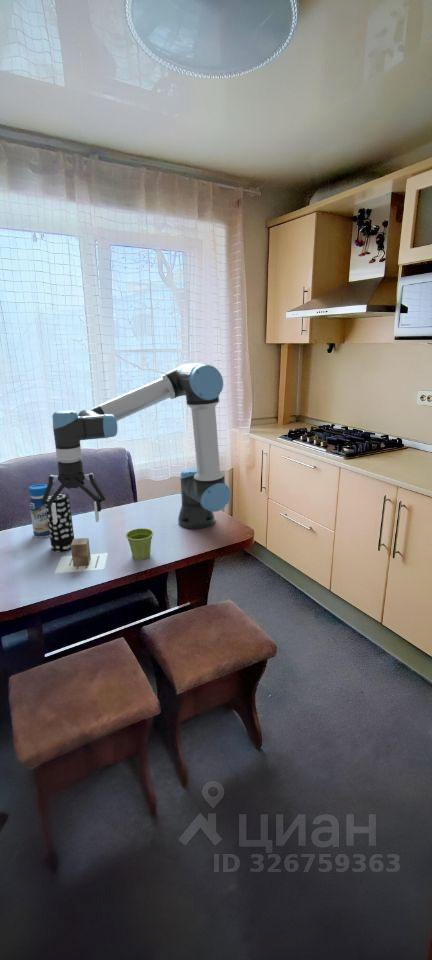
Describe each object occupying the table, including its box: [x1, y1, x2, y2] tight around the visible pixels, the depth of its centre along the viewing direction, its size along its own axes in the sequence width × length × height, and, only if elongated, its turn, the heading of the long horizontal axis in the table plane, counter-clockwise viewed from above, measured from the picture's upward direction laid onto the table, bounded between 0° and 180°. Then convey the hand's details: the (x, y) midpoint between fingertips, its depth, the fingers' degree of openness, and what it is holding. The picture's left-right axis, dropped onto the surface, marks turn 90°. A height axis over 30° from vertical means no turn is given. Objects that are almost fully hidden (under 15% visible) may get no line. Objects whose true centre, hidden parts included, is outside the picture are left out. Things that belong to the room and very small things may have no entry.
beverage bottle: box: [28, 483, 50, 539], centre depth 171 cm, size 8×8×20 cm
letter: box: [54, 552, 109, 574], centre depth 149 cm, size 16×12×1 cm
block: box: [70, 537, 91, 567], centre depth 148 cm, size 5×5×8 cm
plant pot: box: [125, 527, 154, 561], centre depth 152 cm, size 9×9×9 cm
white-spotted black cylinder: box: [45, 492, 75, 553], centre depth 159 cm, size 8×8×20 cm
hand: (76, 521), depth 145 cm, fingers open, 13 cm apart
